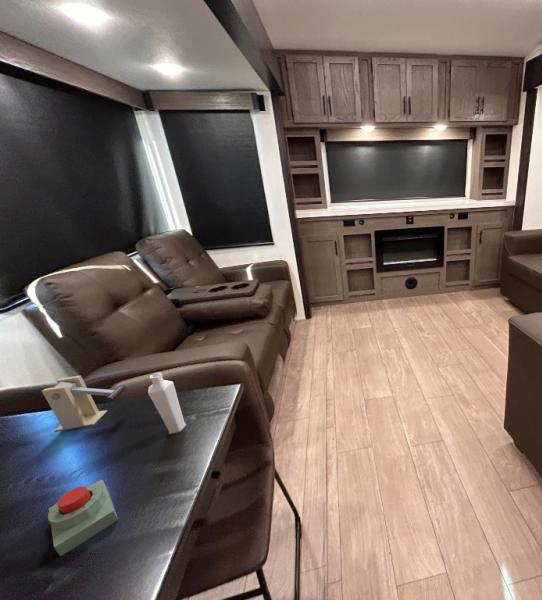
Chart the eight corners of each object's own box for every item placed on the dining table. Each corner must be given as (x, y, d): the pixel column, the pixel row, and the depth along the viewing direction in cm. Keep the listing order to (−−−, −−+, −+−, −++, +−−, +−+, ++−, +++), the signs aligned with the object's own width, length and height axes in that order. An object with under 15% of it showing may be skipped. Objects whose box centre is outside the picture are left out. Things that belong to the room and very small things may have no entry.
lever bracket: (110, 412, 80) (90, 372, 76) (93, 429, 75) (71, 387, 71) (74, 418, 79) (52, 378, 75) (54, 435, 74) (30, 393, 69)
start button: (60, 505, 52) (55, 498, 52) (89, 489, 55) (85, 482, 54) (63, 518, 50) (57, 511, 49) (93, 501, 53) (88, 494, 52)
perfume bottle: (175, 424, 74) (152, 369, 69) (193, 423, 74) (172, 368, 69) (160, 439, 70) (135, 382, 65) (179, 438, 70) (156, 381, 65)
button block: (54, 517, 54) (43, 500, 53) (106, 487, 59) (98, 471, 58) (60, 556, 48) (48, 539, 47) (118, 519, 53) (109, 503, 52)
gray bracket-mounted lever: (126, 391, 79) (125, 383, 78) (112, 404, 74) (112, 395, 73) (67, 386, 76) (66, 378, 75) (49, 400, 71) (48, 391, 70)
